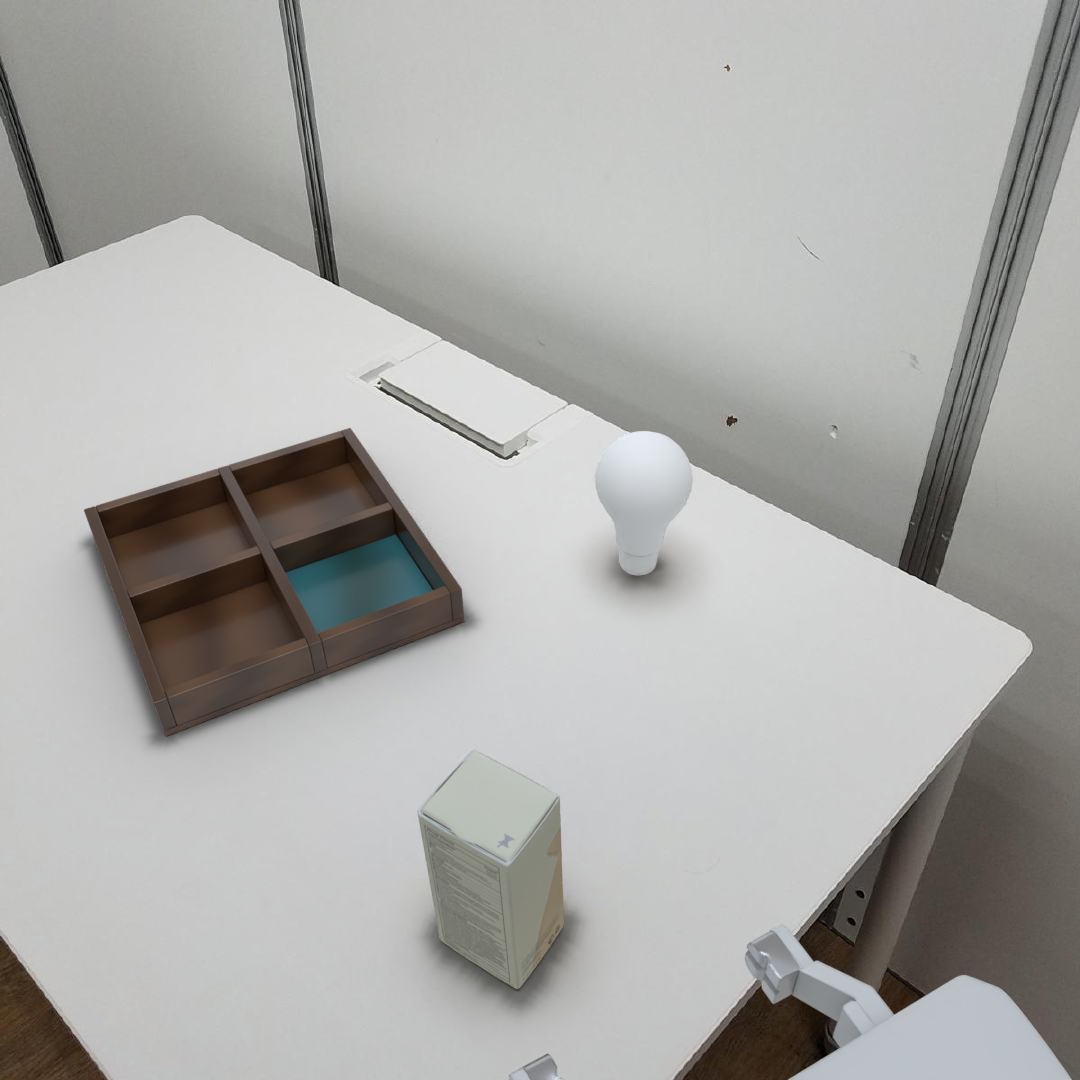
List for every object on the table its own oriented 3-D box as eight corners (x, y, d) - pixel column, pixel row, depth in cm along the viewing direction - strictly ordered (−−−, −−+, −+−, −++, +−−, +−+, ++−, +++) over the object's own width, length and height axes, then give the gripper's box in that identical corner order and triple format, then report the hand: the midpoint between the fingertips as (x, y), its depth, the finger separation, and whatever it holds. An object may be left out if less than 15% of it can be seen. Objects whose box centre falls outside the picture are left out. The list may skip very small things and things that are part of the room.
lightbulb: (573, 568, 76) (575, 438, 68) (636, 528, 79) (645, 399, 71) (637, 616, 72) (647, 485, 65) (701, 573, 75) (717, 442, 68)
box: (566, 925, 56) (568, 797, 49) (517, 994, 54) (512, 870, 46) (482, 874, 59) (472, 743, 51) (431, 937, 56) (413, 810, 49)
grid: (165, 736, 65) (153, 703, 63) (95, 541, 78) (83, 508, 76) (464, 621, 72) (462, 588, 70) (355, 459, 85) (350, 427, 83)
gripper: (1250, 1206, 31) (902, 824, 40) (605, 1721, 24) (364, 1114, 33) (1166, 1275, 35) (870, 916, 44) (599, 1728, 28) (387, 1189, 37)
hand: (650, 1002), depth 38 cm, fingers open, 8 cm apart
